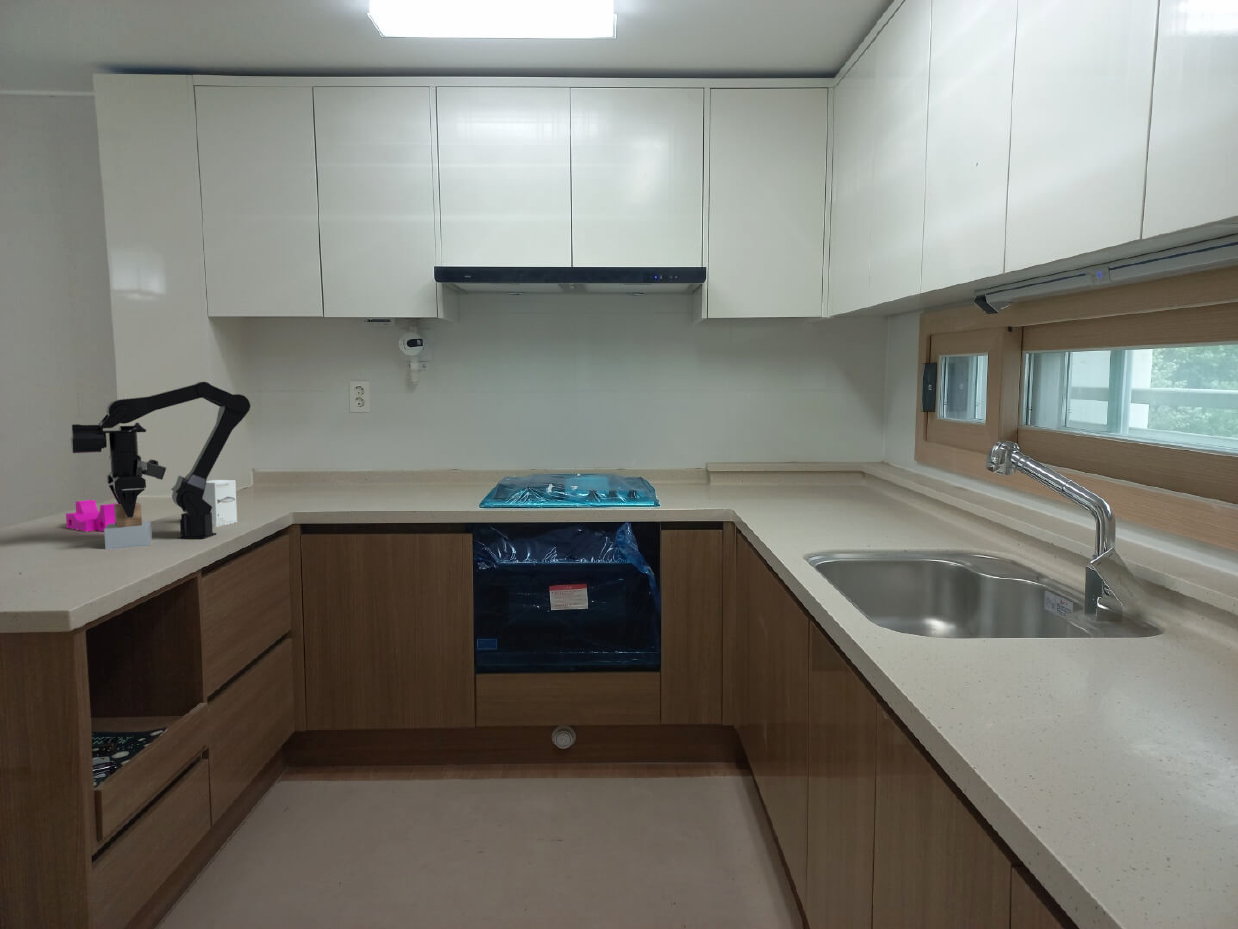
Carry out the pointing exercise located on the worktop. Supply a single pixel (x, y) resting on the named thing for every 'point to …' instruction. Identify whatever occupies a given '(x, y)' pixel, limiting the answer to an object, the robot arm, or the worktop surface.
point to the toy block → (90, 516)
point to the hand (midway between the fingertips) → (127, 514)
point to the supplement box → (221, 501)
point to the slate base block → (128, 536)
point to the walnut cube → (123, 520)
